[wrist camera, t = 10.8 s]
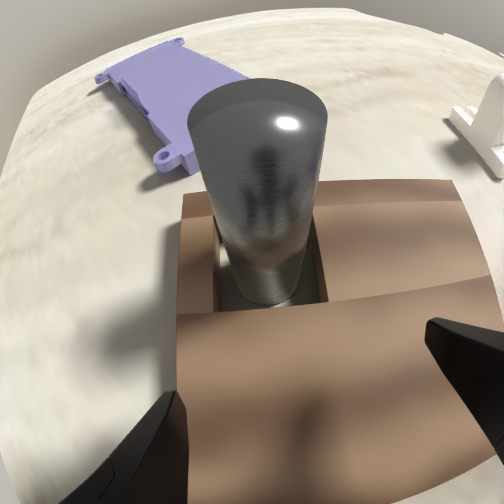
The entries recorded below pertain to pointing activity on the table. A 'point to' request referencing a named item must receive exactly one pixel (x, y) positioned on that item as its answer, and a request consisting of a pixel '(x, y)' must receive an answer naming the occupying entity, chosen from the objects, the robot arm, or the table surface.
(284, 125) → the stool leg
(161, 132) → the computer part
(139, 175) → the table surface
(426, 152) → the table surface
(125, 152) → the table surface
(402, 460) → the walnut stool seat
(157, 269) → the table surface
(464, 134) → the cable organizer
